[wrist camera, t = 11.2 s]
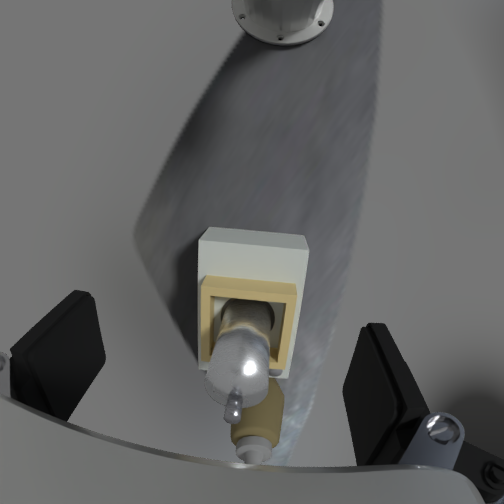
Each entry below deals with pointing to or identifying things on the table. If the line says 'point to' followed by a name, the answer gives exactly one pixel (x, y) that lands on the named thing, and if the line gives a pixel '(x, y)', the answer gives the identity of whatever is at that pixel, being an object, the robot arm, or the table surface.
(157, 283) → the table surface
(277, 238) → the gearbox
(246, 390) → the spout can
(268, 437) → the squeeze bottle
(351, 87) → the table surface
